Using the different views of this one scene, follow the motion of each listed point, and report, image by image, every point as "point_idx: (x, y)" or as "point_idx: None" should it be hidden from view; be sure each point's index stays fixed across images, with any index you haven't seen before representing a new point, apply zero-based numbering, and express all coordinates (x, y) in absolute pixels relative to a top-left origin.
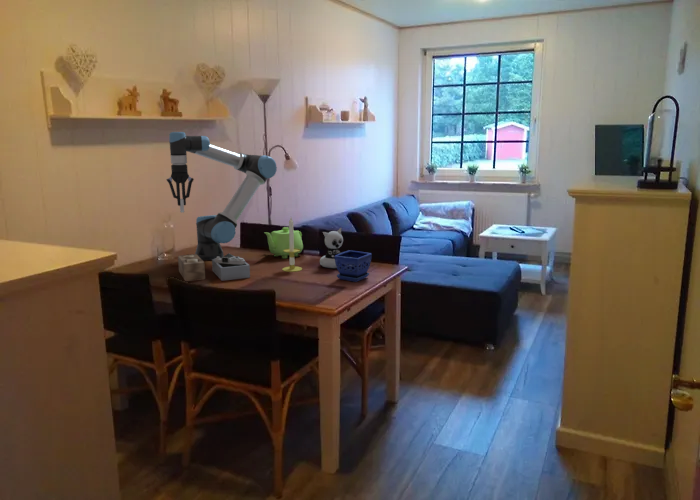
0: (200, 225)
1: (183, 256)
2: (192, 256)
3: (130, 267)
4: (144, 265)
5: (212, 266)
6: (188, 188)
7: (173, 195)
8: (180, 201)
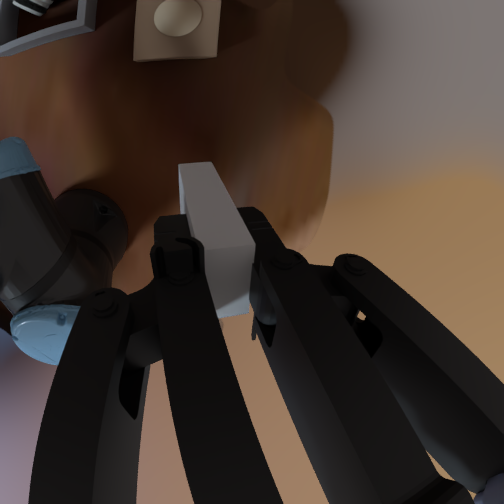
0: (85, 290)
1: (197, 32)
2: (164, 7)
3: (321, 179)
4: (285, 187)
5: (91, 23)
6: (86, 487)
7: (390, 282)
8: (244, 224)
